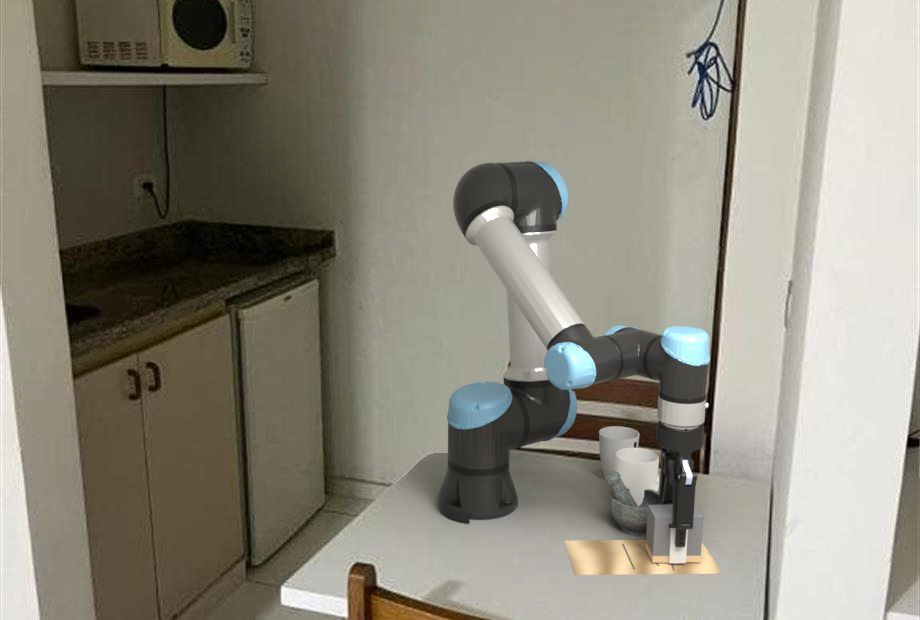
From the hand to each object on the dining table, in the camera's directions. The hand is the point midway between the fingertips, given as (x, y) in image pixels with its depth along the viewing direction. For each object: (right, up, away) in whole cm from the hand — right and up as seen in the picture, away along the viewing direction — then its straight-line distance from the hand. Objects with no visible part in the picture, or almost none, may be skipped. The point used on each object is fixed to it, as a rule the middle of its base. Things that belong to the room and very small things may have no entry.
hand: (672, 553), depth 155 cm
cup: (-3, +6, +35) cm, 36 cm away
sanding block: (0, 0, 0) cm, 0 cm away
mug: (-3, +3, +20) cm, 20 cm away
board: (-5, -1, 0) cm, 6 cm away
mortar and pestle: (-5, +1, +11) cm, 12 cm away
